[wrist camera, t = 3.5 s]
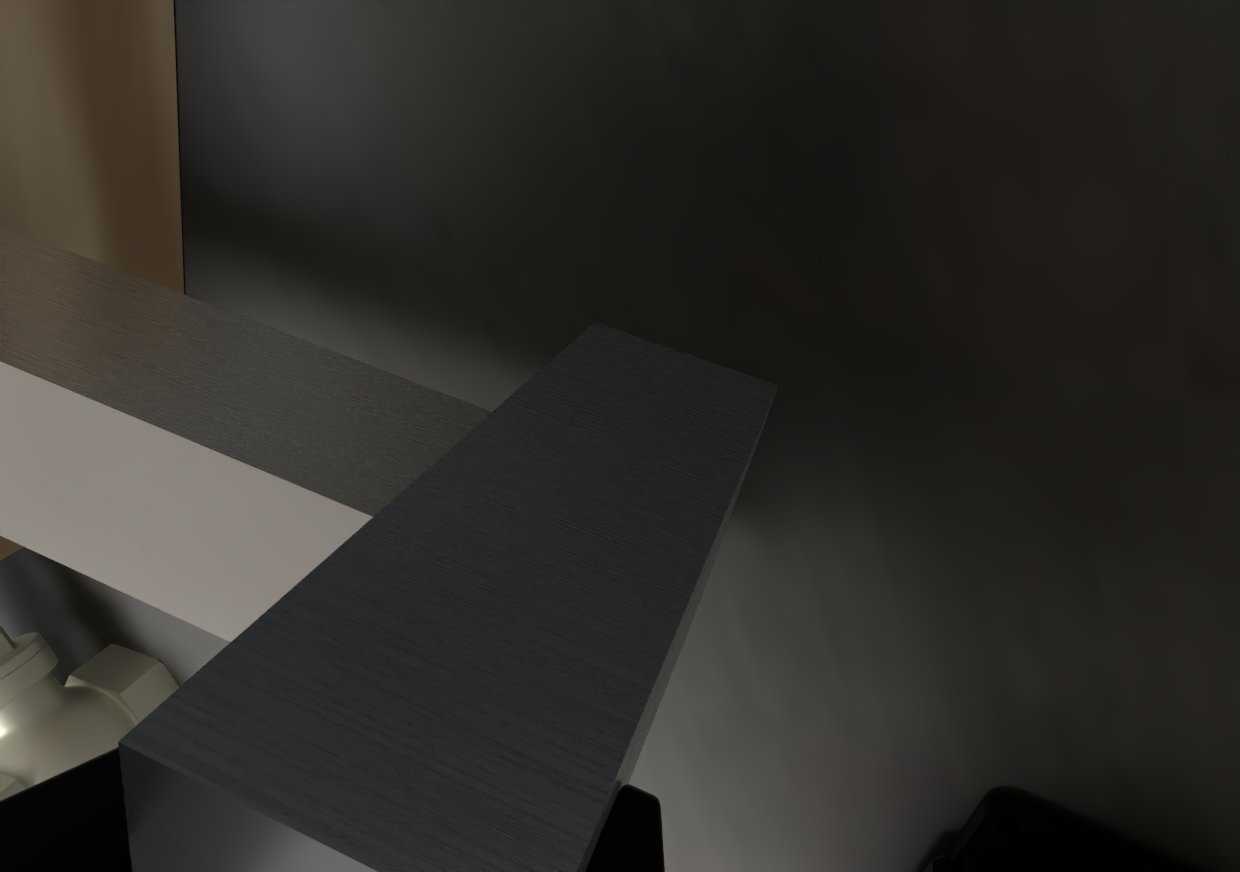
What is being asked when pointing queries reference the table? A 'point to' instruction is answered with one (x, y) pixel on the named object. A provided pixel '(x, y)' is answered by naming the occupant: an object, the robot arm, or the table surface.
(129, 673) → the valve
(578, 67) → the table surface
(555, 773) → the pale grey block
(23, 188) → the wooden block
